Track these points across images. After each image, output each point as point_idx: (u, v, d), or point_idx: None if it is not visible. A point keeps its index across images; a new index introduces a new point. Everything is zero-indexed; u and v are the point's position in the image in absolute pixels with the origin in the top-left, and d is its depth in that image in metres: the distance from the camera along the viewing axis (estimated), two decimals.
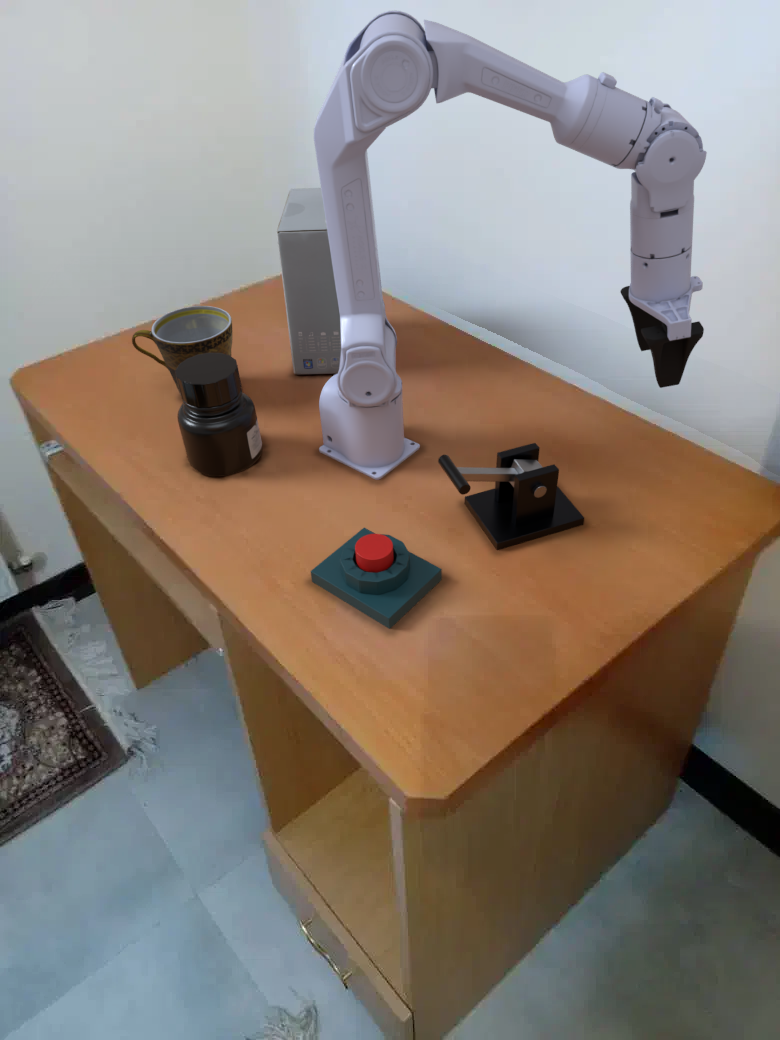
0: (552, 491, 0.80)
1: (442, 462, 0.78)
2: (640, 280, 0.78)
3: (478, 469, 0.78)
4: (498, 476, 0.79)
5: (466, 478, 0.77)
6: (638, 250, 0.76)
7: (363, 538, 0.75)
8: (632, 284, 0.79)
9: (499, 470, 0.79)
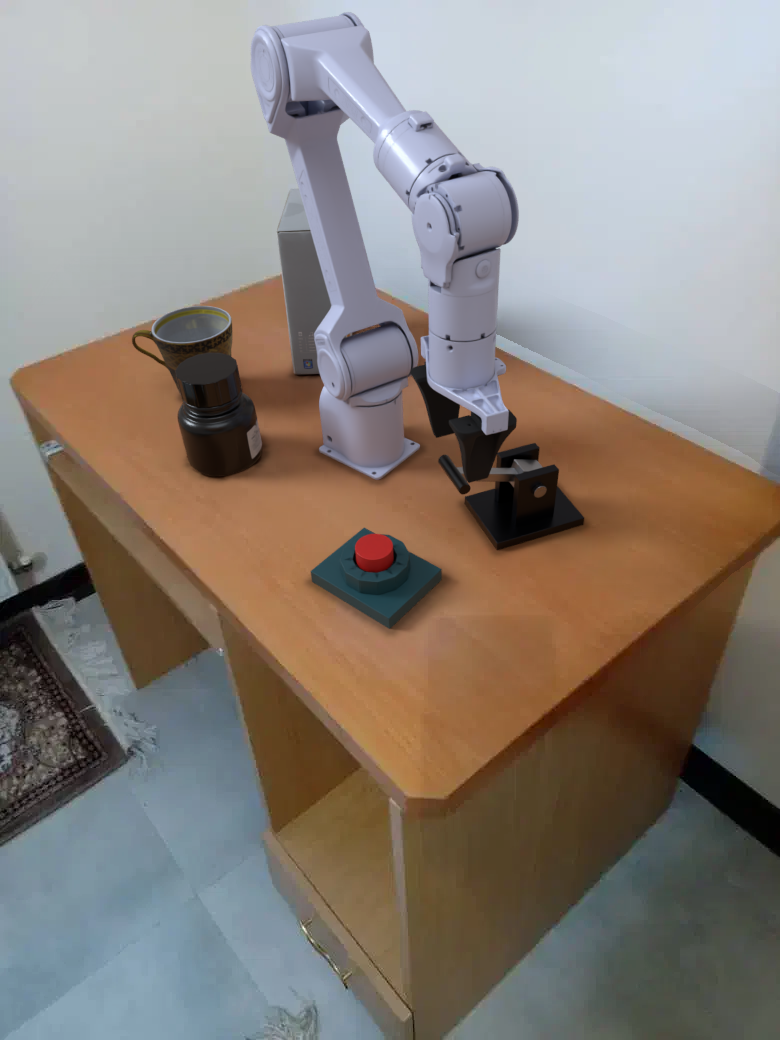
0: (552, 491, 0.80)
1: (442, 462, 0.78)
2: (444, 364, 0.66)
3: None
4: (498, 476, 0.79)
5: None
6: None
7: (363, 538, 0.75)
8: (433, 368, 0.68)
9: (499, 470, 0.79)
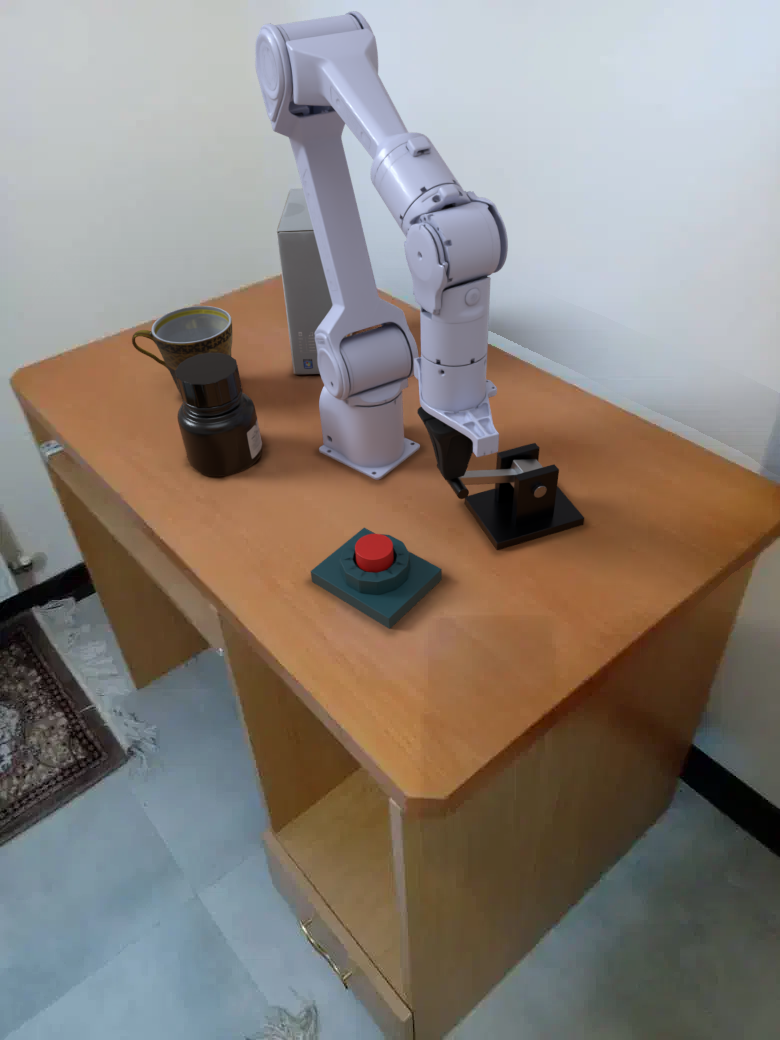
0: (552, 491, 0.80)
1: None
2: (436, 388, 0.68)
3: (477, 472, 0.78)
4: (497, 478, 0.79)
5: (465, 481, 0.77)
6: None
7: (363, 538, 0.75)
8: (425, 391, 0.69)
9: (498, 472, 0.79)
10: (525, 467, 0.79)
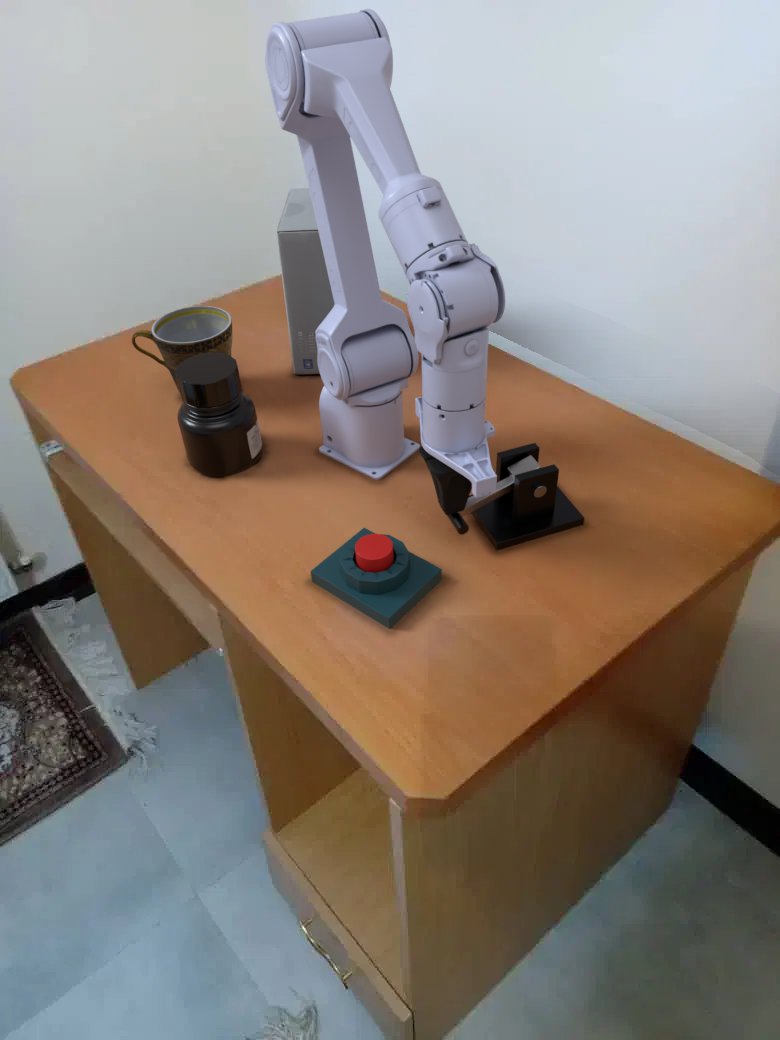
0: (552, 491, 0.80)
1: None
2: (437, 431, 0.71)
3: (474, 497, 0.80)
4: (496, 494, 0.80)
5: (465, 512, 0.80)
6: None
7: (363, 538, 0.75)
8: (426, 433, 0.72)
9: None
10: (519, 472, 0.80)
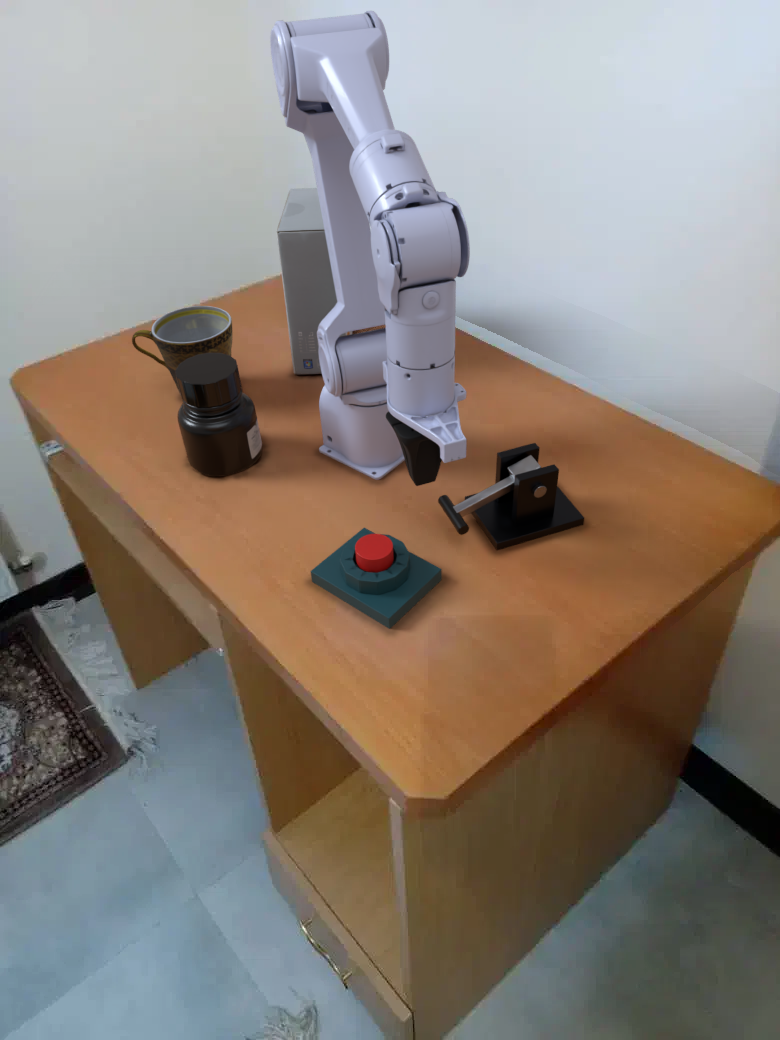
0: (552, 491, 0.80)
1: (441, 505, 0.82)
2: (402, 392, 0.66)
3: (474, 497, 0.80)
4: (496, 494, 0.80)
5: (465, 512, 0.80)
6: None
7: (363, 538, 0.75)
8: (392, 395, 0.67)
9: (495, 487, 0.80)
10: (519, 472, 0.80)
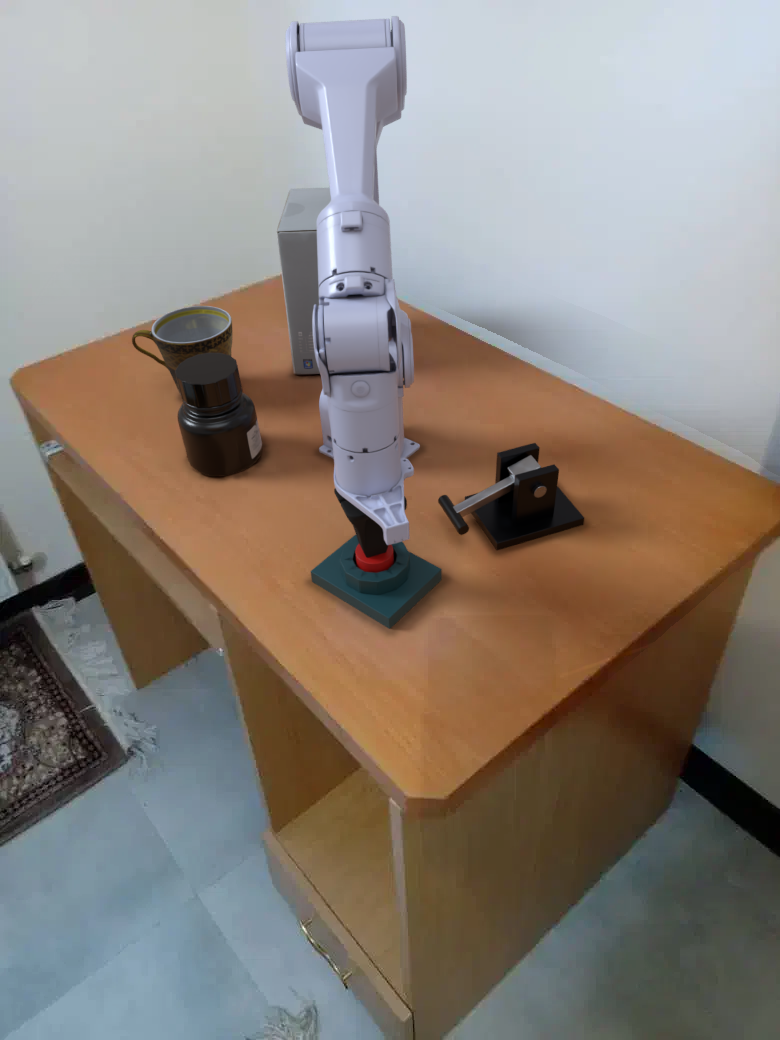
0: (552, 491, 0.80)
1: (441, 505, 0.82)
2: (346, 472, 0.66)
3: (474, 497, 0.80)
4: (496, 494, 0.80)
5: (465, 512, 0.80)
6: None
7: None
8: (337, 474, 0.67)
9: (495, 487, 0.80)
10: (519, 472, 0.80)
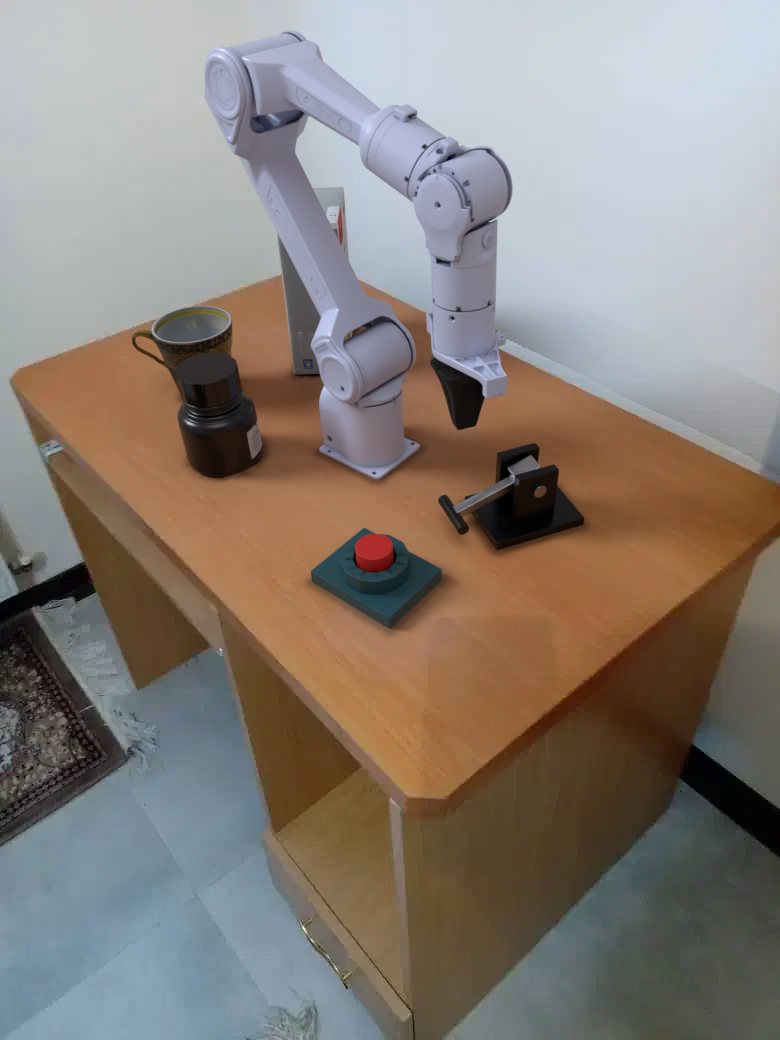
0: (552, 491, 0.80)
1: (441, 505, 0.82)
2: (447, 334, 0.71)
3: (474, 497, 0.80)
4: (496, 494, 0.80)
5: (465, 512, 0.80)
6: None
7: (363, 538, 0.75)
8: (437, 339, 0.72)
9: (495, 487, 0.80)
10: (519, 472, 0.80)
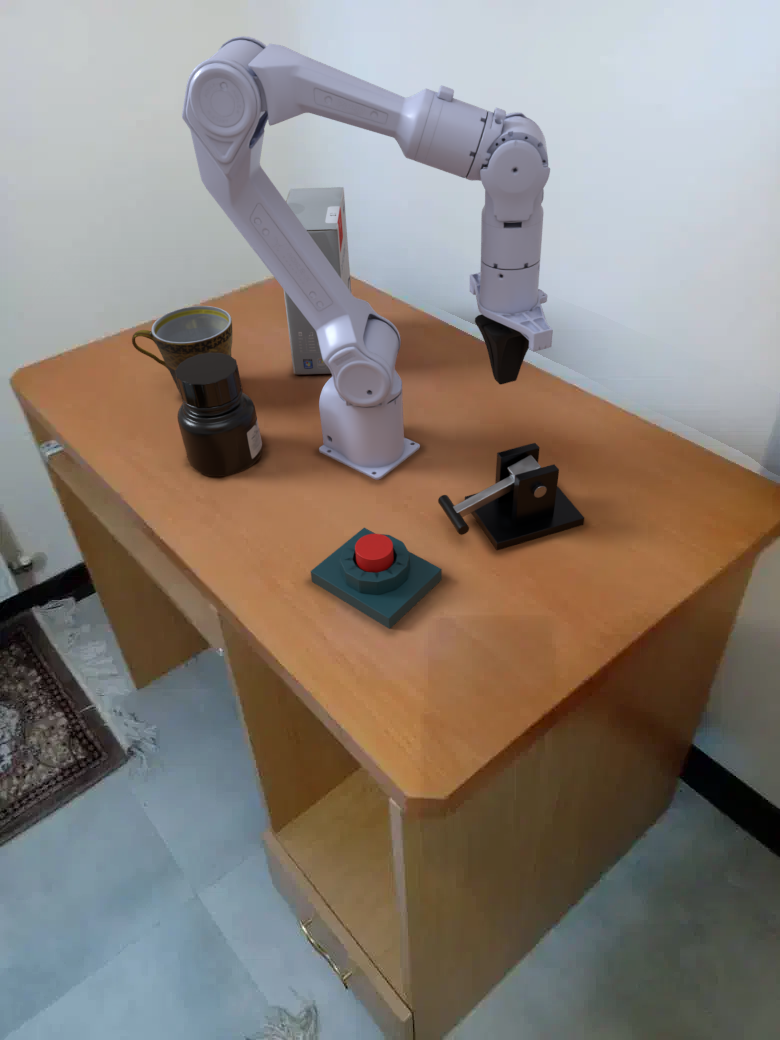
0: (552, 491, 0.80)
1: (441, 505, 0.82)
2: (495, 292, 0.76)
3: (474, 497, 0.80)
4: (496, 494, 0.80)
5: (465, 512, 0.80)
6: (484, 257, 0.75)
7: (363, 538, 0.75)
8: (484, 297, 0.78)
9: (495, 487, 0.80)
10: (519, 472, 0.80)
